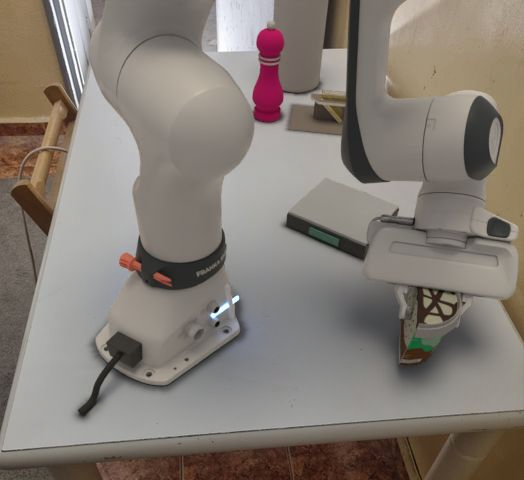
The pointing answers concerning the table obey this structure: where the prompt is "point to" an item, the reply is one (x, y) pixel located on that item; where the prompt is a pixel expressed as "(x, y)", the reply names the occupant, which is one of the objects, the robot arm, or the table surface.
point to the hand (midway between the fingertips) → (428, 323)
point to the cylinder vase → (300, 42)
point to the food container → (427, 323)
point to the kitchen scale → (338, 215)
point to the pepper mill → (268, 75)
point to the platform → (320, 114)
